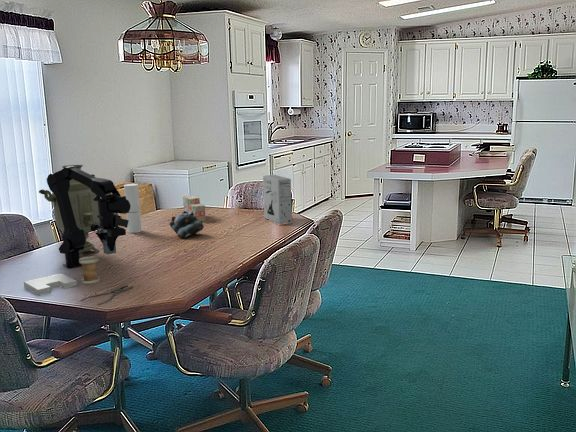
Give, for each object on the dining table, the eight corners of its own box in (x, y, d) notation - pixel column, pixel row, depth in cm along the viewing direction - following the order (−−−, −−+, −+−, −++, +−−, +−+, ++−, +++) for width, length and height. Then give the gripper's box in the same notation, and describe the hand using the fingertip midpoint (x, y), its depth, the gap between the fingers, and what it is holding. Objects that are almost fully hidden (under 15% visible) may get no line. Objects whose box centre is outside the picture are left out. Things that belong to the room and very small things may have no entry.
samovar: (49, 265, 240) (38, 171, 232) (44, 252, 262) (34, 166, 255) (121, 255, 253) (113, 166, 245) (110, 243, 276) (103, 161, 268)
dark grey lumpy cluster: (179, 240, 279) (167, 214, 280) (176, 244, 290) (165, 220, 291) (206, 228, 284) (195, 203, 285) (203, 232, 296) (192, 209, 297)
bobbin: (78, 281, 216) (75, 259, 215) (95, 277, 221) (93, 255, 219) (86, 285, 211) (83, 262, 210) (103, 281, 216) (101, 258, 214)
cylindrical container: (143, 229, 305) (139, 183, 300) (138, 232, 298) (135, 185, 293) (130, 229, 306) (126, 183, 301) (125, 232, 299) (121, 185, 294)
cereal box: (264, 218, 327) (262, 175, 322) (276, 217, 330) (274, 174, 325) (279, 225, 308) (278, 179, 303) (292, 223, 311) (291, 178, 306)
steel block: (103, 253, 228) (102, 239, 227) (112, 251, 230) (110, 237, 229) (107, 254, 225) (106, 240, 224) (116, 252, 228) (115, 239, 227)
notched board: (24, 286, 212) (23, 281, 212) (61, 278, 221) (60, 273, 221) (38, 295, 202) (38, 289, 202) (76, 285, 212) (76, 280, 211)
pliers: (76, 301, 193) (111, 283, 212) (77, 304, 193) (111, 285, 212) (101, 304, 190) (134, 285, 209) (101, 306, 190) (134, 287, 209)
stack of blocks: (205, 221, 324) (204, 200, 322) (195, 222, 321) (194, 201, 319) (194, 215, 343) (192, 195, 340) (183, 216, 340) (182, 196, 337)
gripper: (136, 211, 223) (139, 250, 227) (113, 206, 237) (117, 243, 240) (110, 216, 216) (113, 255, 219) (88, 210, 229) (92, 248, 232)
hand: (109, 250), depth 228 cm, fingers closed on steel block, 4 cm apart
